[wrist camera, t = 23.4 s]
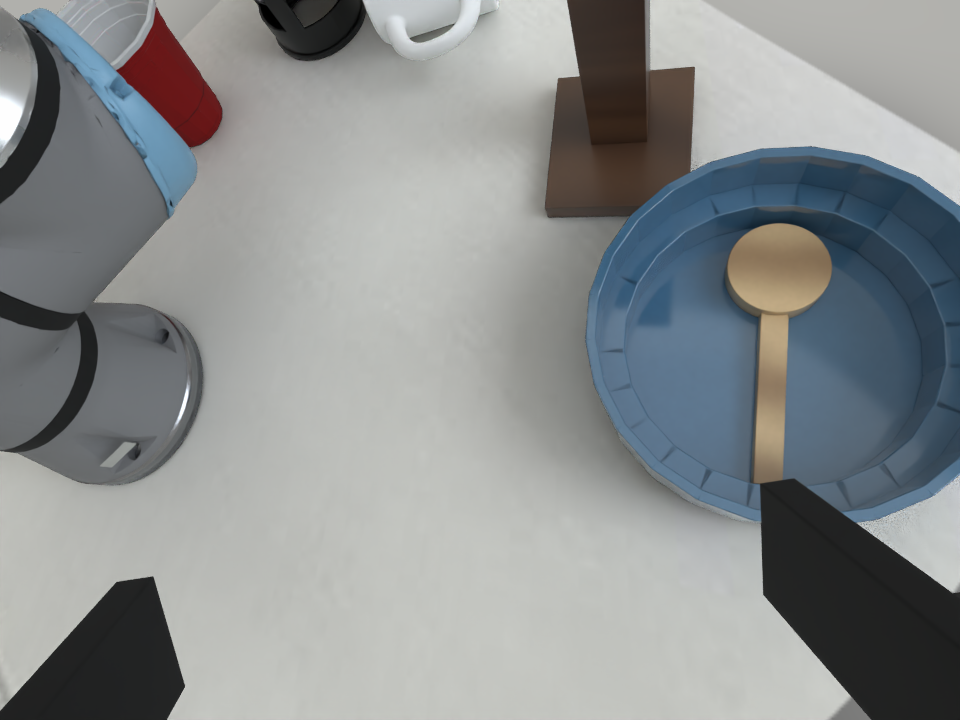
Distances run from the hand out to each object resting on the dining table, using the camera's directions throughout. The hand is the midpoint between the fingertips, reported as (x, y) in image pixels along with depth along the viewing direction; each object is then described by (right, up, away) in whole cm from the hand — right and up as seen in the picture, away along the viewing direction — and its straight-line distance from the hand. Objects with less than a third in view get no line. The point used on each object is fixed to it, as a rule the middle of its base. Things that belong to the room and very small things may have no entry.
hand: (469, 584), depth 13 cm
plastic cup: (-27, +28, +45) cm, 60 cm away
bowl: (+19, +5, +26) cm, 32 cm away
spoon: (+19, +5, +25) cm, 32 cm away
